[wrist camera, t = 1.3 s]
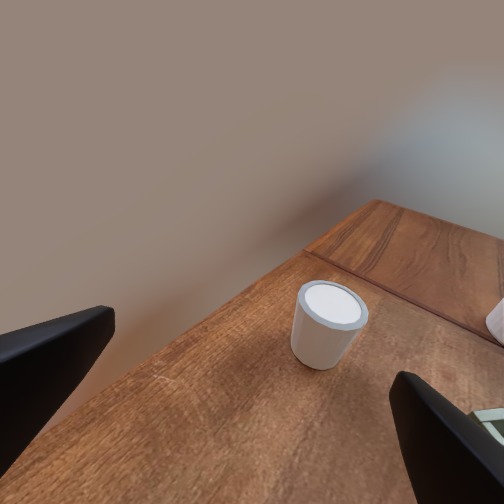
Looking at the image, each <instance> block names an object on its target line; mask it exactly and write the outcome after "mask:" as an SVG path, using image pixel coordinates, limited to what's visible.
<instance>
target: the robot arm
mask: <svg viewBox="0 0 504 504" xmlns="http://www.w3.org/2000/svg"><path fill="white" fill-rule="evenodd" d="M114 332H115V312H114V309H113V308H111V307H107V306H102V305H101V306H96V307H93V308H89V309H86V310H83V311H80V312H76V313H73V314H69V315H66V316H62V317H59V318H56V319H52V320H49V321H46V322H43V323H39V324H36V325H32V326H29V327H26V328H22V329H19V330H15V331H12V332H9V333H5V334H2V335H0V479H1V477H2V476H3V475H4V474H5V473H6V471H7V470H8V469H9V468H10V467H11V465H12V464H13V463H14V462H15V461H16V459H17V458H18V457H19V456H20V455H21V453H22V452H23V451H24V450H25V449H26V447H27V446H28V445H29V444H30V443H31V441H32V440H33V439H34V438H35V437H36V435H37V434H38V433H39V432H40V430H41V429H42V428H43V427H44V426H45V425H46V423H47V422H48V421H49V420H50V418H51V417H52V416H53V415H54V414H55V413H56V411H57V410H58V409H59V408H60V406H61V405H62V404H63V403H64V402H65V400H66V399H67V398H68V397H69V396H70V395H71V393H72V392H73V391H74V390H75V389H76V387H77V386H78V385H79V384H80V382H81V381H82V380H83V379H84V377H85V376H86V374H87V373H88V372H89V370H90V369H91V367H92V366H93V364H94V363H95V361H96V360H97V359H98V357H99V356H100V354H101V353H102V351H103V350H104V348H105V347H106V345H107V344H108V343H109V341H110V340H111V338H112V337H113V334H114ZM389 401H390V405H391V409H392V414H393V418H394V423H395V427H396V431H397V436H398V440H399V444H400V449H401V452H402V456H403V460H404V463H405V466H406V469H407V472H408V475H409V479H410V482H411V485H412V488H413V491H414V494H415V497H416V500H417V503H418V504H504V445H503V444H501V443H500V442H499V441H498V440H496V439H495V438H494V437H493V436H491V435H490V434H489V433H488V432H486V431H485V430H484V429H483V428H482V427H480V426H479V425H478V424H477V423H475V422H474V421H473V420H472V419H470V418H469V417H468V416H467V415H466V414H464V413H463V412H462V411H461V410H459V409H458V408H457V407H456V406H454V405H453V404H452V403H451V402H449V401H448V400H447V399H446V398H445V397H443V396H442V395H441V394H440V393H438V392H437V391H436V390H435V389H433V388H432V387H431V386H430V385H429V384H427V383H426V382H425V381H424V380H422V379H421V378H420V377H419V376H417V375H416V374H414V373H410V372H405V371H400V372H398V374H397V375H396V378H395V380H394V382H393V384H392V387H391V389H390V392H389Z"/></svg>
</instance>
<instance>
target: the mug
mask: <svg viewBox="0 0 504 504" xmlns="http://www.w3.org/2000/svg"><path fill="white" fill-rule="evenodd" d="M486 325H487V328H488V330H489V332H490V333H491V334H492V335H493V337H494V338H495V339H496V340H497V341H498V342H499V343H501V344H502V345H503V346H504V298H503V299H502V300H501V301H500V303H499V304H498V305H497V306H496V307H495V308H494V309H493V310H492V312H491V313H490V314H489V315H488V316H487V317H486Z"/></svg>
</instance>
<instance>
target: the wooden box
mask: <svg viewBox="0 0 504 504" xmlns="http://www.w3.org/2000/svg"><path fill="white" fill-rule="evenodd" d="M467 416H468V417H469V418H470V419H472V420H473V421H474V422H475V423H477V424H478V425H479V426H480V427H482V428H483V429H484V430H485V431H486V432H488V433H489V434H490V435H491V436H493V437H494V438H495V439H496V440H498V441H499V442H500V443H501V444H503V445H504V408H496V409H487V410H478V411H472V412H471V413H469V414H468V415H467Z"/></svg>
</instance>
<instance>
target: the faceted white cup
mask: <svg viewBox="0 0 504 504" xmlns="http://www.w3.org/2000/svg"><path fill="white" fill-rule="evenodd" d="M368 314H369V313H368V310H367V308H366V305H365V303H364V302H363V301H362V300H361V299H360V297H359V296H358V295H357V294H355V293H354V292H352V291H351V290H349V289H348V288H347V287H344V286H342V285H339V284H337V283H334V282H329V281H323V280H319V281H311V282H309V283H307V284H305V285H303V286H302V287H301V289H300V291H299V292H298V297H297V303H296V309H295V315H294V321H293V327H292V333H291V348H292V350H293V353H294V355H295V356H296V357H297V358H298V359H299V360H300V361H301V362H302V363H303V364H305V365H307V366H309V367H311V368H313V369H319V370H326V369H330V368H333V367H334V366H335V365H336V364H337V363H338V362H339V361H340V359H341V358H342V356H343V355H344V354H345V352H346V351H347V349H348V348H349V347H350V345H351V344H352V342H353V341H354V340H355V338H356V337H357V335H358V334H359V333H360V331H361V330H362V328H363V327H364V326H365V324H366V323H367V319H368Z"/></svg>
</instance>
